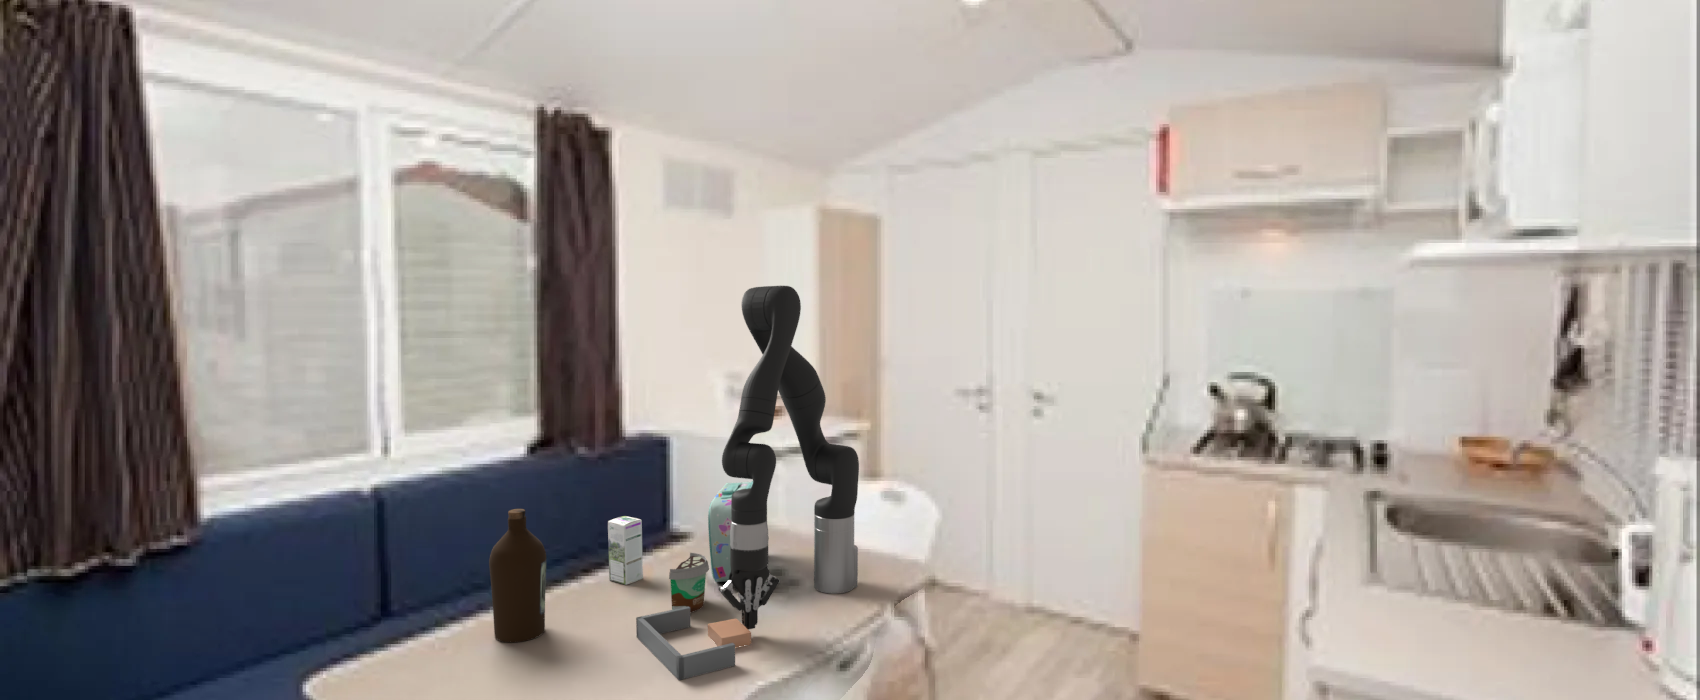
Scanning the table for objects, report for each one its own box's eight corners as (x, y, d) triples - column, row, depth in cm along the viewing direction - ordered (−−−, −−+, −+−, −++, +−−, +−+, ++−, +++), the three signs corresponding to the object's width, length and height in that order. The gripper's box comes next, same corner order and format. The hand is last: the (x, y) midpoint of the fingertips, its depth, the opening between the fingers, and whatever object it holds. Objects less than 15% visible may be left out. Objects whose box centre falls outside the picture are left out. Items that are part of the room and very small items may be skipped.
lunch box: (751, 590, 199) (751, 498, 197) (706, 590, 199) (705, 498, 198) (764, 553, 226) (764, 472, 224) (724, 553, 226) (724, 471, 224)
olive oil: (493, 648, 168) (489, 520, 165) (489, 628, 177) (486, 507, 175) (551, 638, 172) (548, 514, 170) (544, 619, 182) (541, 501, 180)
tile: (736, 632, 177) (736, 618, 177) (751, 647, 170) (751, 632, 170) (707, 638, 174) (707, 623, 174) (721, 653, 167) (721, 638, 167)
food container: (696, 618, 183) (696, 572, 182) (669, 616, 184) (668, 569, 183) (717, 597, 195) (717, 553, 194) (691, 595, 196) (691, 551, 195)
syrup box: (643, 578, 207) (643, 518, 205) (625, 585, 202) (624, 524, 200) (626, 573, 210) (626, 514, 208) (607, 581, 205) (606, 520, 203)
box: (688, 625, 179) (688, 606, 179) (735, 665, 161) (735, 644, 160) (636, 636, 173) (636, 617, 173) (678, 680, 155) (678, 658, 154)
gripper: (770, 532, 179) (770, 614, 181) (710, 543, 172) (711, 628, 174) (787, 542, 173) (787, 627, 175) (727, 553, 166) (727, 641, 167)
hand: (749, 627), depth 174 cm, fingers closed
